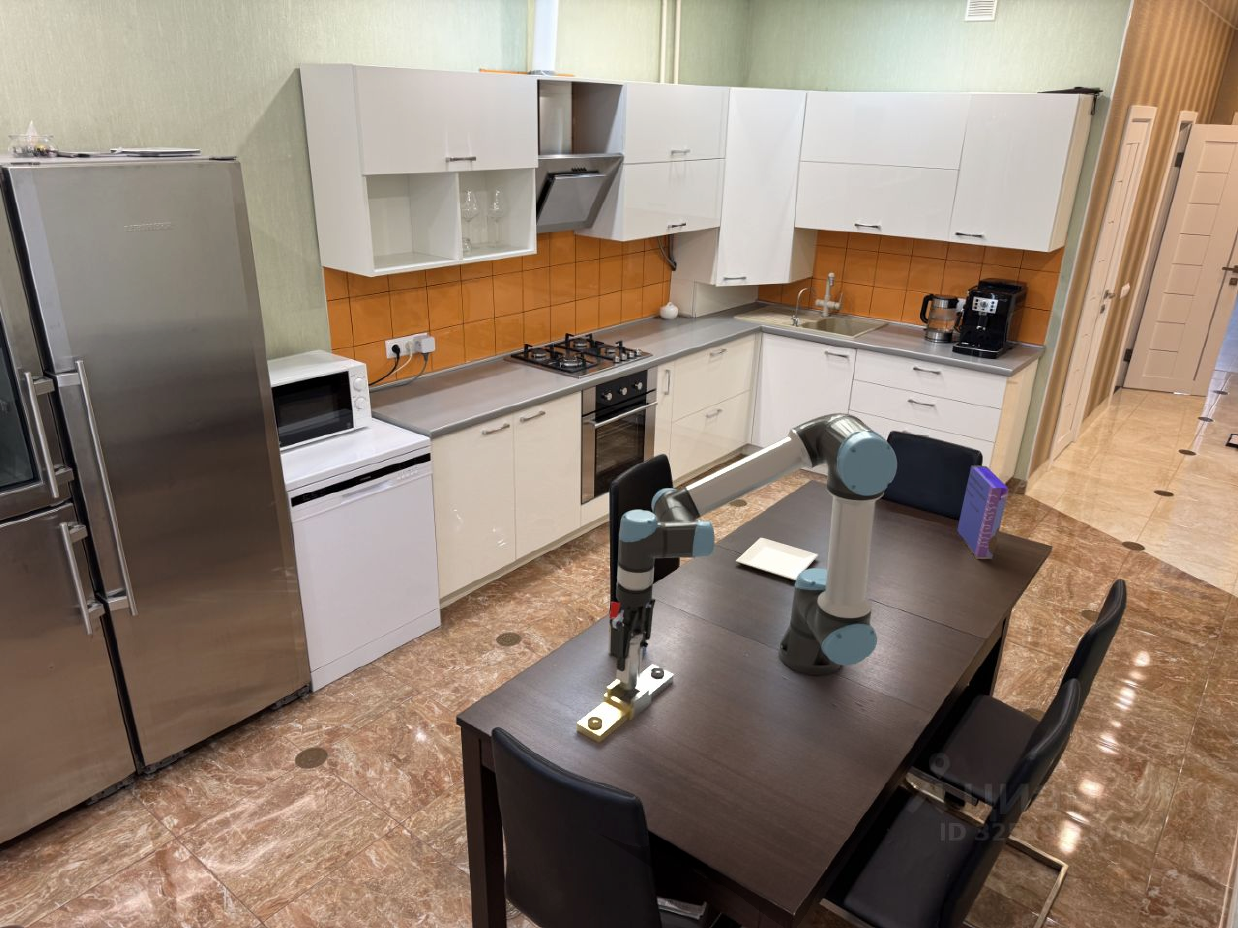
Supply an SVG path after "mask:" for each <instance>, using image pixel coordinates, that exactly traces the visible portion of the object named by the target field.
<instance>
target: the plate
mask: <svg viewBox="0 0 1238 928" xmlns="http://www.w3.org/2000/svg"><path fill="white" fill-rule="evenodd" d="M818 556H819V554H818V553H814V552H811V551H808V550H805V549H801V548H799V547H795V546H791V545H788V544H785V543H782V542H778V541H774V540H772V539H768V538H765V537H759V539H757V540H756V541H755V542H754V543H753V544H752V545H751V546H750V547H749V548H748V549H747V550H745V551H744V553H742V554H741V555H740V556H739V557H738V558H737V559H735V562H736V563H737V564H741V565H744V566H747V567H750V568H753V569H756V570H759V571H762V572H765V573H768V574H773V575H775V576H778V577H781V578H785V579H788V580H792V581H795V582H796V580H797V576H798V574H799V573H801V572H802V571H804V570H807V569H808V567H809V566H810V565H811V564H812V563H813V562H814V560H815V559H816V558H817V557H818Z"/></svg>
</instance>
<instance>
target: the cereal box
mask: <svg viewBox="0 0 1238 928" xmlns="http://www.w3.org/2000/svg"><path fill="white" fill-rule="evenodd" d="M968 474H969V476H968V479H967V485H966V489H965V494H964V498H963V502H962V508H961V510H960V511H961V512H960V517H959V521H958V524H957V525H958V526H957V530H956V532H957V531H958V532H959V534H960V535H961V536H962V537H963V538H964V540H965V541H966V542H967V543H968V545H969V546H970V548H971V549H972V550H973V552H974V553H975V554H976V556H977V557H993V558H994V553H995V550H996V545H997V542H998V538H999V532H1000V529H1001V528H1000V527H1001V525H1002V520H1003V516H1004V513H1005V507H1006V504H1007V499H1008V494H1009V491H1010V489H1009V487H1008V486H1007V485H1006V484H1005V483H1004V482H1003V481H1002V480H1001V479H1000V478H999V477H998V476H997V475H996V474H995V473H994V472H993V471H992V470H991V469H990V468H989V467H988V466H987V465H979V464H978V465H977V464H975V465H971V466H970V471H969V473H968Z"/></svg>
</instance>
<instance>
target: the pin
mask: <svg viewBox="0 0 1238 928" xmlns="http://www.w3.org/2000/svg"><path fill="white" fill-rule="evenodd" d="M642 640H643V633H641V632H639V631H637V630H634V629H633V630H632V635H631V640H630V646H629V651H628V656H629V657H630V665H629V681H628V683H627V684H625V683H623V682H621V681H619V685H620V687H621V688H623V689H627V690H631V689H634V688H636V687H637V681H638V675H639V674H638V667H639V652H640V642H641V641H642Z"/></svg>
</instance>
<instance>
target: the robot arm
mask: <svg viewBox="0 0 1238 928" xmlns="http://www.w3.org/2000/svg"><path fill="white" fill-rule="evenodd" d="M820 465H826V466H827V477H826V490H827V492H828V493H829V495H830V496H832V504H831V505H832V508H831V521H830V531H829V532H830V533H829V542H828V555H827V568H817V567H816V568H815V567H813V568H806V569H805V570H804V571H802V572H801V573H799V574H798V576H797V579H796V580H795V582H794V591H793V600H792V606H791V615H790V623H789V626H788V627H787V630H786V631H785V633H784V634H783V636H782V638H781V639H780V642H779V646H778V647H779V648H778V656H779V658H780V660H781V661H782V662H783V663H784V665H786V666H787V667H788V668H790V669H792V670H794V671H796V672H799V673H802V674H805V675H811V676H825V675H830V674H833V673H834V672H837V671H838V670H839V669H840V667H841V666H852V665H856V664H859V663H861V662H862V661H864V660H866V658H868V657H870V656H871V655H872V654H873V653H874V651H875V649H876V648H877V644H878V635H877V633H876V630H875V628H874V627H873V626H872V625H871V618H872V607H873V606H872V601H871V600H870V598H869V597H868V596H867V586H868V585H867V583H868V577H869V576H868V575H869V567H870V566H869V565H870V556H871V555H870V554H871V546H872V539H873V538H872V536H873V528H874V516H875V507H876V501H878V500H880V499H881V498H882V497H883V496H884V494H885V490H886V489H887V488H888V485H889V484H891V483H892V482H893V480H894V478H895V476H896V474H897V469H898V461H897V456H896V453H895V451H894V449H893V448H892V446H891V444H890V443H889V442H888V441H887V440H886V439H885V437H883V436H882V435H881V434H879V433H878V432H876V431H874V430H873V429H872V428H871V427H869V426H868V425H867V424H866V423H864V422H863V421H862V420H861V419H860V418H859V417H857V416H855V415H853V414H850V413H843V412H842V413H841V412H836V413H829V414H825V415H821V416H818V417H816V418H812V419H811V420H808V421H806V422H804V423H801V424H799V425H797V426H795V427H792V428H790V429H789V432H788V435H787V436H786V437H783V438H781V439H779V440H777V441H775V442H773V443H771V444H770V445H767V446H765V447H763V448H761V449H759V450H757V451H755V452H753V453H751V454H749V455H747V456H745V457H743V458H741V459H738V460H737V461H735V462H733V463H730V464H729V465H727V466H724V467H722V468H721V469H718V470H717V471H714V472H712V473H710V474H708V475H707V476H704V477H702V478H701V479H698V480H696V481H694V482H692V483H691V484H689V485H686V486H684V487H682V488H679V489H678V490H677V489H675V488H673V487H671V488H668V487H667V488H662V489H659V490H658V491H657V492H656V493H655V494H654V496H653V497H652V500H651V510H652V512H651V511H650V510H643V509H632V510H629V511H627V512H625V513H624V514H623V515H621V519H620V525H619V526H620V527H619V532H618V555H617V556H618V557H617V559H618V560H617V576H616V579H617V581H616V587H615V588H616V589H615V598H616V599H617V602H618V603H620V607H619V610H618V616H617V617H616V618H615V619H613V618H611V619H610V618H609V623H610V626H611V645H610V654H609V656H610V657H611V658H613V659H615V660H616V667H615V668H616V675H615V676H616V677H615V678H616V679H615V680H619V681H621V682H623V683H625V684H627V683H628V681H629V665H630V657H629V656H628V651H629V646H630V640H631V635H632V630H633V629H634V630H637V631H639V632H641V633H643V640H642V641H641V642H640V652H639V667H638V675H639V674H641V673H642V663H643V658H642V655H643V646H644V647H647V648H648V646H649V642H648V641H650V640H651V635H652V633H651V632H652V623H653V614H654V609H655V608H654V607H655V604H656V599H655V598H653V588H654V587H653V586H654V585H653V583H654V575H655V574H654V573H655V560H656V559H668V558H669V559H677V558H682V559H684V558H685V559H686V558H693V559H695V558H700V557H709V556H710V555H711V554H712V553H713V551H714V549H715V538H716V536H715V530H714V526H713V524H712V522H711V521H710V520H705V519H703V520H702V519H700V518H702V517H704V516H705V515H708V514H710V513H712V512H714V511H716V510H718V509H720V508H722V507H724V506H727V505H728V504H731V503H733V502H735V501H736V500H739V499H741V498H743V497H744V496H747V495H749V494H751V493H753V492H756V491H757V490H759V489H761V488H763V487H766V486H767V485H769V484H772V483H774V482H776V481H777V480H780V479H782V478H784V477H786V476H788V475H789V474H792V473H795V472H796V471H798V470H801V469H802V468H806V469H809V470H811V469H813V468H815V467H817V466H820ZM609 623H608V624H609ZM645 632H646V633H645ZM646 640H647V642H646Z"/></svg>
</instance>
